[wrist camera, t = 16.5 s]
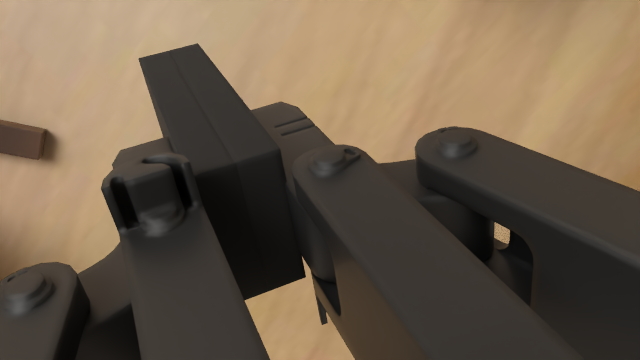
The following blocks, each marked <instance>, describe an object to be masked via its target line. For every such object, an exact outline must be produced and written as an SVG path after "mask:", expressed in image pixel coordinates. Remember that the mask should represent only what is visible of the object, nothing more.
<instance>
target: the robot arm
mask: <svg viewBox="0 0 640 360" xmlns="http://www.w3.org/2000/svg"><path fill="white" fill-rule="evenodd" d="M139 62H140V65H141V68H142V71H143V74H144V77H145V81H146V84H147V87H148V90H149V93H150V96H151V99H152V103H153V106H154V109H155V112H156V115H157V118H158V122H159V125H160V128H161V131H162V134H163V137H164V138H161V139H158V140H154V141H151V142H147V143H144V144H141V145H137V146H134V147H130V148H127V149H123V150H120V152H119V154H118V155H117V157H116V159H115V160H114V162H113V164H112V166H113V170H112V171H111V172H110V173H109V174H108V175H107V176H106V177H105V179H104V180H103V183H102V187H101V190H102V192H103V195H104V197H105V200H106V202H107V205H108V207H109V210H110V212H111V215H112V217H113V220H114V222H115V225H116V227H117V230H118V232H119V236H120V243H119V244H118V245H117V247H116V248H115V249H114V250H113V251H112V252H111V253H110V254H109V255H107V256H106V257H105V258H104V259H102V260H101V261H99V262H98V263H96V264H95V265H93V266H91V267H89V268H88V269H86V270H84V271H82V272H80V273H79V274H77V273H76V272H75V271H74V269H73V268H72V267H71V266H70V265H67V264H63V263H59V262H52V263H40V264H37V265H34V266H31V267H26V268H23V269H21V270H19V271H16V273H12V274H11V275H9V276H7V277H6V278H4V279H3V280H2V281H1V282H0V360H270V358H269V356H268V354H267V351H266V349H265V347H264V345H263V342H262V340H261V338H260V335H259V333H258V331H257V328H256V326H255V324H254V322H253V319H252V317H251V315H250V312H249V310H248V308H247V306H246V303H245V301H244V300H246V299H249V298H252V297H254V296H257V295H260V294H262V293H265V292H268V291H270V290H273V289H276V288H278V287H281V286H284V285H286V284H289V283H291V282H294V281H297V280H299V279H302V278H305V277H306V275H305V270H304V265H303V260H302V257H303V258H304V260H305V261H306V263H307V265H308V266H309V268H310V269H311V274H312V279H313V284H314V290H315V295H316V300H317V305H318V310H319V316H320V320H321V323H322V325H323V324H326V323H328V322H327V317H326V312H327V313H328V315H329V317H330V318H331V320H332V322H333V323H334V325H335V327H336V328H337V330H338V332H339V333H340V335H341V337H342V338H343V340H344V342H345V343H346V345H347V347H348V348H349V350H350V352H351V353H352V355H353V357H354V358H355V360H640V192H639V191H637V190H634V189H632V188H629V187H626V186H624V185H621V184H619V183H616V182H613V181H611V180H608V179H606V178H603V177H600V176H598V175H595V174H593V173H590V172H587V171H585V170H582V169H580V168H577V167H574V166H572V165H569V164H567V163H564V162H561V161H559V160H556V159H554V158H551V157H548V156H546V155H543V154H541V153H538V152H535V151H533V150H530V149H528V148H525V147H522V146H520V145H517V144H515V143H512V142H509V141H507V140H504V139H502V138H499V137H496V136H494V135H491V134H489V133H486V132H483V131H480V130H476V129H472V128H462V127H455V126H454V127H448V128H446V127H445V128H441V129H438V130H436V131H433V132H430V133H427V134H426V135H424V136H423V137H422V138H420V139H419V140H418V142H417V144H416V146H415V157H416V159H414V160H407V161H399V162H392V163H376V162H375V161H374V160H373V159H372V158H371V157H370V156H369V155H368V154H367V153H366V152H364V151H362V150H361V149H359V148H357V147H353V146H348V145H335V144H334V143H333V142H332V141H331V140H330V139H329V138H328V137H327V136H326V135H325V134H324V133H323V132H322V131H321V130H320V129H319V128H318V127H317V126H315V124H314V123H313V122H312V121H311V120H310V119H309V118H307V116H306V115H305V114H304V113H303V112H302V111H301V110H300V109H299V108H298V107H296V106H293V105H290V104H287V103H284V102H278V103H274V104H271V105H268V106H264V107H261V108H257V109H254V110H250V109H249V108H248V107H247V106H246V104H245V103H244V102H243V100H242V99H241V98H240V97H239V95H238V94H237V93H236V92H235V90H234V89H233V88H232V86H231V85H230V84H229V83H228V81H227V80H226V79H225V77H224V76H223V75H222V74H221V72H220V71H219V70H218V69H217V67H216V66H215V65H214V63H213V62H212V61H211V60H210V58H209V57H208V56H207V55H206V53H205V52H204V51H203V49H202V48H201V47H200V46H199V44H198V43H197V44H194V45H190V46H186V47H182V48H178V49H174V50H170V51H166V52H162V53H158V54H154V55H150V56H146V57H143V58H139ZM495 222H496V223H498V224H500V225H502V226H504V227H506V228H507V229H509V230H510V241H509V244H506V243H503V242H501V241H499V240H497V239H495V238H494V223H495Z"/></svg>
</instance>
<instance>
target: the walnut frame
mask: <svg viewBox="0 0 640 360" xmlns="http://www.w3.org/2000/svg"><path fill="white" fill-rule="evenodd" d="M45 132H46V129H42V128H37V127H32V126H28V125H23V124H18V123H13V122H8V121H3V120H0V153H5V154H10V155H15V156H21V157H26V158H31V159H36V160H39V159H40V158H41V156H42V155H43V147H44V140H45Z"/></svg>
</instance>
